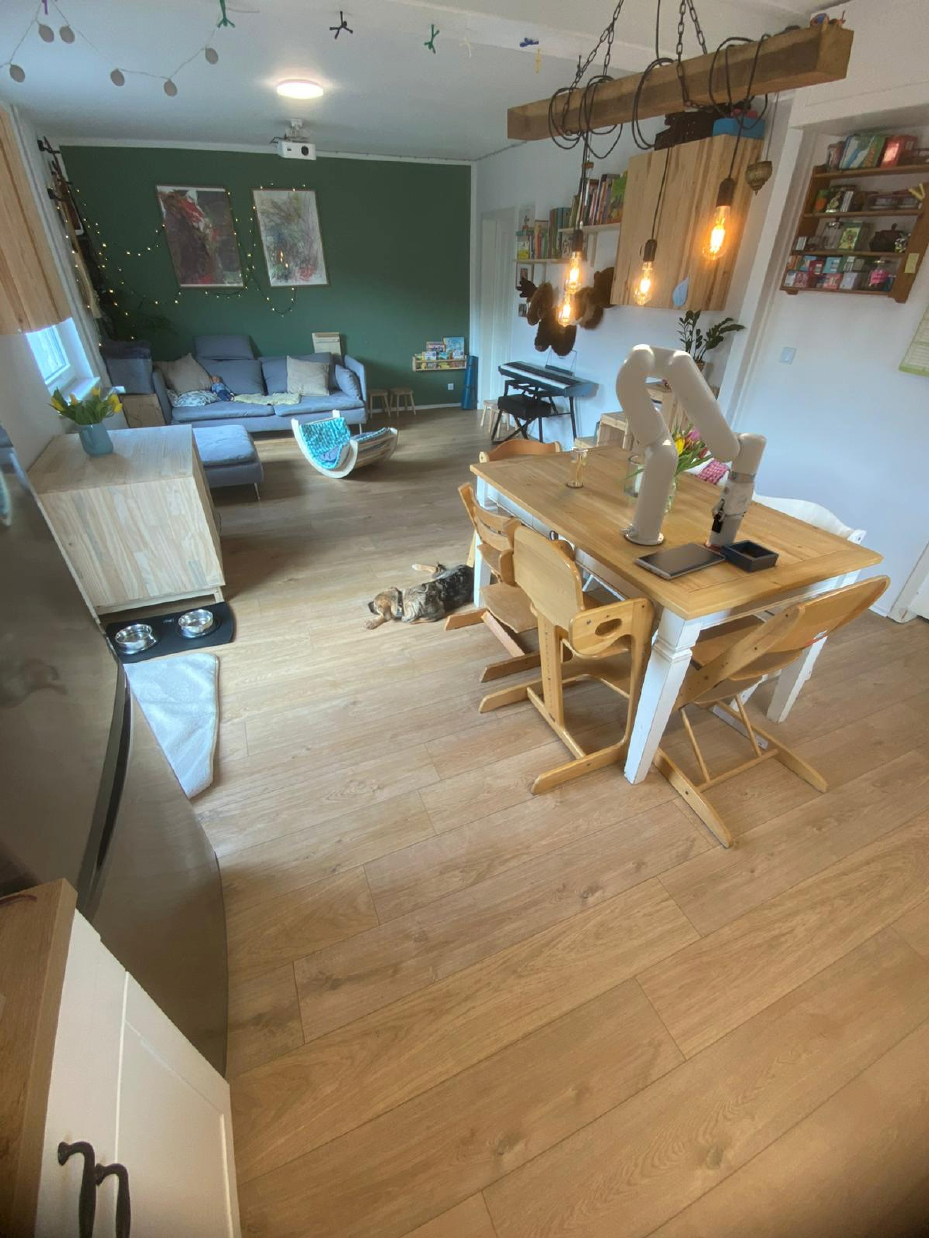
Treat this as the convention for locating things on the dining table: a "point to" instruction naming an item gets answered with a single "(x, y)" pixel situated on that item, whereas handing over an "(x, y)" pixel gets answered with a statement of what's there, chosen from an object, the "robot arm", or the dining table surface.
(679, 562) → the smartphone
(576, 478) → the beer glass
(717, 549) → the coaster
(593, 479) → the dining table surface
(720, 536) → the can
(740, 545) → the dark square tray
